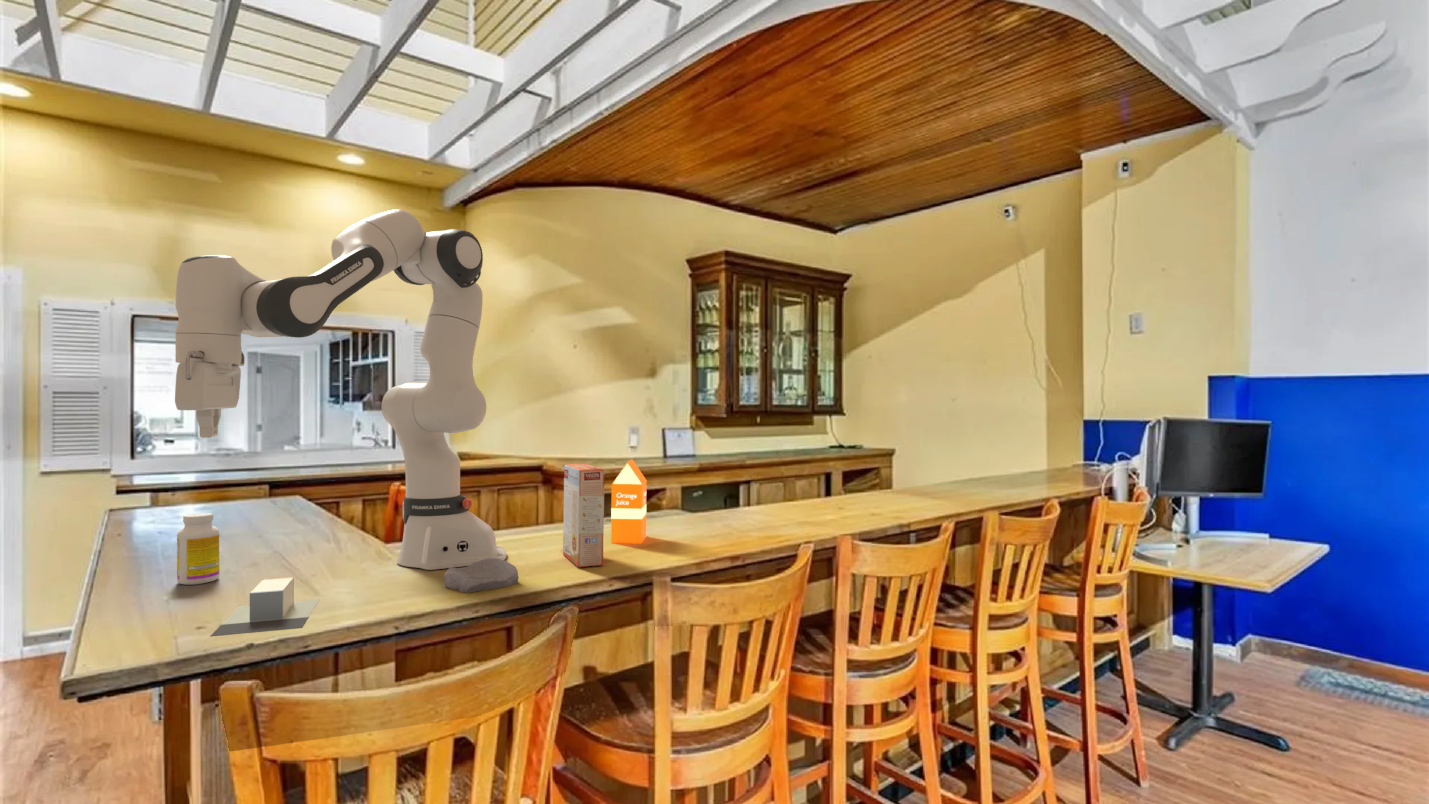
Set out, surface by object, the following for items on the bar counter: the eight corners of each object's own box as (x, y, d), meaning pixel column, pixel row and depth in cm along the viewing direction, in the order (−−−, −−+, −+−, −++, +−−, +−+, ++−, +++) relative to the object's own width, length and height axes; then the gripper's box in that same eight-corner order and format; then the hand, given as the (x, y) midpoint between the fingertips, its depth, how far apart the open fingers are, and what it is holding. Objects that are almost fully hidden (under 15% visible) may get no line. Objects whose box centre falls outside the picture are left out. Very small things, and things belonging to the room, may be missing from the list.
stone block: (523, 592, 140) (493, 573, 146) (526, 569, 139) (495, 551, 145) (469, 608, 130) (439, 588, 136) (472, 583, 130) (441, 564, 136)
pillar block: (282, 618, 115) (293, 603, 123) (282, 590, 115) (293, 577, 123) (249, 621, 113) (263, 605, 121) (249, 593, 113) (263, 579, 121)
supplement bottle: (227, 578, 140) (228, 512, 140) (195, 587, 134) (195, 518, 134) (201, 575, 142) (201, 511, 142) (168, 584, 136) (168, 516, 136)
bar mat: (319, 601, 125) (319, 599, 125) (302, 630, 110) (302, 627, 110) (239, 608, 121) (239, 605, 121) (210, 638, 106) (210, 636, 106)
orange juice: (610, 542, 177) (611, 461, 177) (616, 535, 186) (617, 458, 185) (642, 543, 177) (642, 462, 176) (646, 536, 185) (647, 459, 185)
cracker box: (605, 566, 153) (605, 468, 153) (577, 569, 150) (577, 469, 150) (588, 552, 166) (588, 462, 165) (562, 555, 163) (562, 463, 163)
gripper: (212, 350, 109) (211, 440, 109) (247, 356, 129) (247, 433, 129) (162, 349, 107) (162, 441, 107) (205, 355, 126) (205, 434, 126)
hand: (208, 437), depth 118 cm, fingers closed
